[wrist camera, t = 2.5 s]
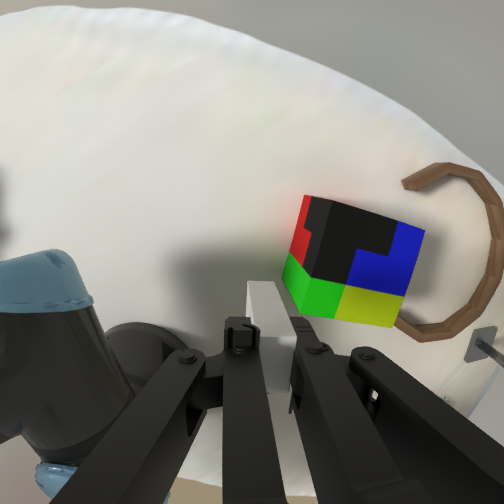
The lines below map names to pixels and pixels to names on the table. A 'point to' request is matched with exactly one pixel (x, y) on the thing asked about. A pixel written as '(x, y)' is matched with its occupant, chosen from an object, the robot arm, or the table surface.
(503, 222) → the rim
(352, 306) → the puzzle toy
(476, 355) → the dial gauge stand
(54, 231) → the table surface
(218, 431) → the table surface
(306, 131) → the table surface
